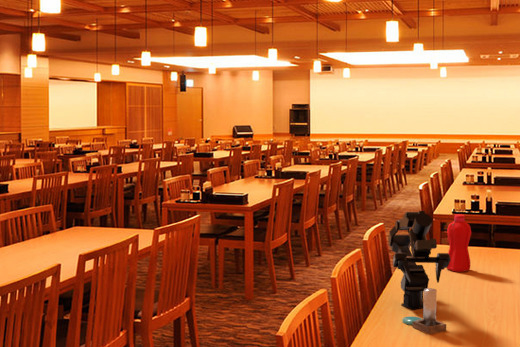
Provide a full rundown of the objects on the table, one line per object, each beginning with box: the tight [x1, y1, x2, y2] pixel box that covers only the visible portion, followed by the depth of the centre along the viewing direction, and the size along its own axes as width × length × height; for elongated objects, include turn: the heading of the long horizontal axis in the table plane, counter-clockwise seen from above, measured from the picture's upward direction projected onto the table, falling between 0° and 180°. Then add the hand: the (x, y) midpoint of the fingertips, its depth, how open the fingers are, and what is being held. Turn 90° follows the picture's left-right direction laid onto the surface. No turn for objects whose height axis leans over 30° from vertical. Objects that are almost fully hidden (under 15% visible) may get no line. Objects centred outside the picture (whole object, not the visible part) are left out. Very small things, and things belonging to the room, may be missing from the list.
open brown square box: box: [412, 318, 447, 335], centre depth 211 cm, size 8×8×2 cm
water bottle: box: [446, 213, 472, 273], centre depth 288 cm, size 9×11×25 cm
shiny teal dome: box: [402, 316, 423, 326], centre depth 218 cm, size 7×7×1 cm
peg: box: [422, 287, 438, 327], centre depth 210 cm, size 4×4×13 cm
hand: (424, 282), depth 218 cm, fingers open, 9 cm apart
